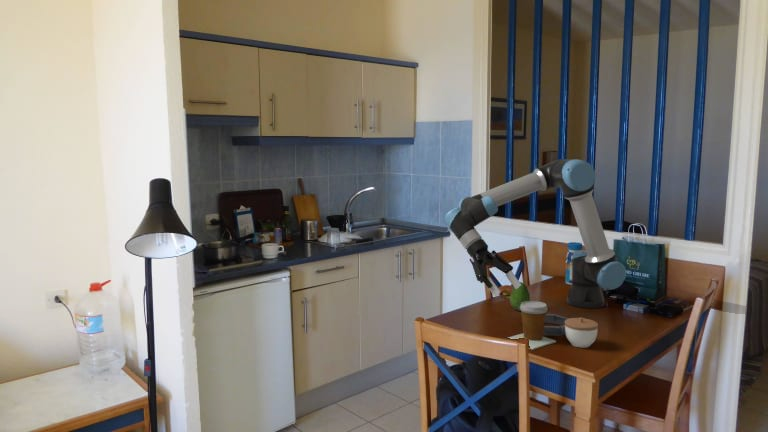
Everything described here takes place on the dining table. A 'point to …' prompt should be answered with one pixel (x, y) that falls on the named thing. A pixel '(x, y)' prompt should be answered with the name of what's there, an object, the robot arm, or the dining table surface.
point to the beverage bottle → (572, 248)
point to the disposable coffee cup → (533, 319)
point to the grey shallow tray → (555, 329)
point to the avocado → (519, 296)
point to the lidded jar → (581, 331)
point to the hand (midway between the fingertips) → (508, 290)
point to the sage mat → (535, 341)
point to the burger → (505, 291)
